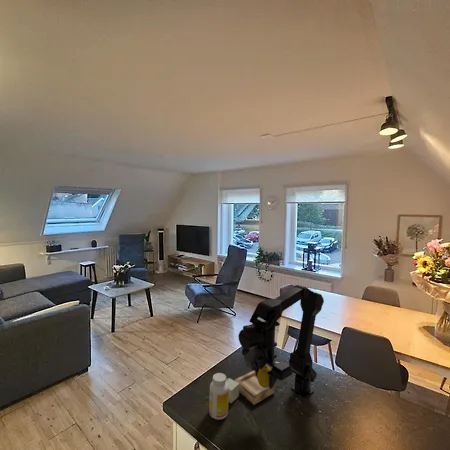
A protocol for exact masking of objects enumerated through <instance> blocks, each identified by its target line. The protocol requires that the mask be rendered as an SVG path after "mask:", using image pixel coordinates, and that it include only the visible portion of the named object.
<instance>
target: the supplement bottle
mask: <svg viewBox="0 0 450 450" xmlns="http://www.w3.org/2000/svg"><path fill="white" fill-rule="evenodd" d="M226 380H227V376H226V374H225V373H222V372H217V373H215V374H213V376H212V381H211V383H210V385H209V397H208V398H209V400H208V401H209V403H208V404H209V405H208V413H209V415H210V417H211V418H213V419H215V420H224V419H226V417H227V416H228V413H229V402H228V396H229V386H228V384H227V382H226Z"/></svg>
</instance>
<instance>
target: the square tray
mask: <svg viewBox="0 0 450 450" xmlns="http://www.w3.org/2000/svg"><path fill="white" fill-rule="evenodd" d="M234 381H236V382H238V383H239V394H241V395H242V396H243V397H244V396H245V397H246V398H245V397H244V398H245V399H246V400H248V402H250V403H251V404H252V405H254V406H255V405H256V404H258V403H260V402H261V401H263V400H265V399H266V398H269V397H270V396H271V395H274V394H275V389H276V388H275V386H276V385H275V384H276V383H275V384H274V386H273V388H272V389H270V387H269V388H263V387H262V386H261V385H260V384H259V382H258V379H257V376H256V373H255V371H254V370H252V371H250V372H247V373H245V374H244V375H241V376H239V377H237V378H235V379H234Z"/></svg>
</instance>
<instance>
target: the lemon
mask: <svg viewBox="0 0 450 450" xmlns="http://www.w3.org/2000/svg"><path fill="white" fill-rule="evenodd" d="M269 371H271V366H270V365H267V364H266V365H265V366H264V367H263V368H262V369H259V371H258V375H257V378H258V382H259V384H260V385H261V386H262V387H263V388H269V374H268V373H267V372H269Z"/></svg>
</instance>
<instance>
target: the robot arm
mask: <svg viewBox="0 0 450 450" xmlns="http://www.w3.org/2000/svg"><path fill="white" fill-rule="evenodd" d="M299 301H300V302H299ZM298 302H299V303H300V304H299V305H300V307H301V311H302V314H301V315H302V316H301V322H300V328H299V335H298V340H297V345H296V349H295V350H294V351H293V352H290V354H289V360H288V363H287V362H285V361H283V360H282V361H276V360H275V359H276V358H277V354H276V353H275V347H277V346H278V342H276V341H275V340H276V339H275V338H276V327H278V326H280V323H279V321H278V320H279V319H281V317H282V316H283V312H285V310H287V309H288V308H290V307H292V306H293V305H294V304H296V303H298ZM324 302H325V300H324V297H323V296H322V294H321V293H318V292H315V291H312V290H311V289H310V288H308V287H306V286H303V285H299V284H296V285H294V286H293V288H291V289H288V290H287V291H286V292H284V293H283V294H280V295H279V296H277V297H276V298H272V299H271V298H270V299H266V300H262V301H259V303H257V306H256V307H255V309H254V311H253V313H252V315H251V317H250V319H249V323H250V324H248V325H244V326H243V327H242V329H241V330H240V331H239V333H238V337H237V338H238V341H239V344H240V346H241V347H242V349H241V355H242V356H243V359H244V362H245V365H246V366H247V367H248V368H249V369H251V370H252V371H255V373H256V376H257V375H258V371H259V369H262V368H263V367H264V366H265V365H266V366H269V367H270V368H271V371H269V372H267V373H268V374H269V387H270V389H272V388H273V386H274V384H276V382H277V380H279V381H283V380H286V378H287V379H288V377H290V376H293V374H295V375H294V385H292V386H291V387H290V388H291V390H292V391H294V392H295V393H297V394H298V395H300V396H301V397H302V398H306V397H308V396H310V395H311V394H312V393H314V392H315V389H313V388H312V386H311V385H312V383H314V382H315V380H316V379H317V376H318V373H317V371H316V370H315V369H314V368H313V357H312V355H311V346H312V340H313V336H314V335H313V334H314V330H315V329H314V328H315V321H316V317H317V315H318V314H319V313H320V312H321V311H322V309H323V305H324ZM260 319H261V320H260ZM262 320H263V321H262ZM257 379H258V378H257Z"/></svg>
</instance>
